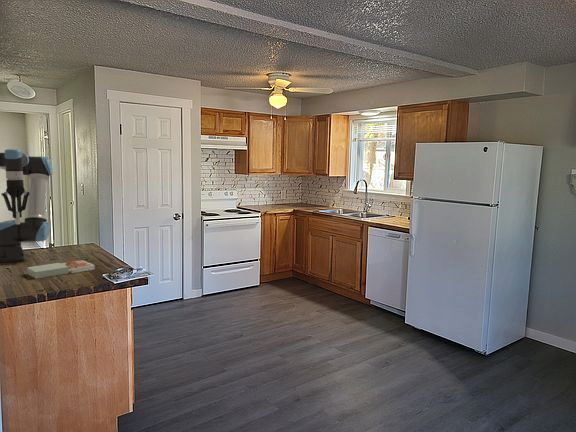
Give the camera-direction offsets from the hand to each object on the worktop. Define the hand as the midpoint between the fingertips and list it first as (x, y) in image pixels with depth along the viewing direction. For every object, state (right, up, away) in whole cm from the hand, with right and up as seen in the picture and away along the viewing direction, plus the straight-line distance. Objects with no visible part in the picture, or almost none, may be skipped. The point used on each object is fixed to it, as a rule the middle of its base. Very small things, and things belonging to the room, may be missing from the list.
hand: (17, 223), depth 229 cm
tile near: (+26, -23, +8) cm, 35 cm away
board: (+17, -26, -1) cm, 31 cm away
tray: (+27, -25, +10) cm, 38 cm away
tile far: (+28, -21, +10) cm, 37 cm away
